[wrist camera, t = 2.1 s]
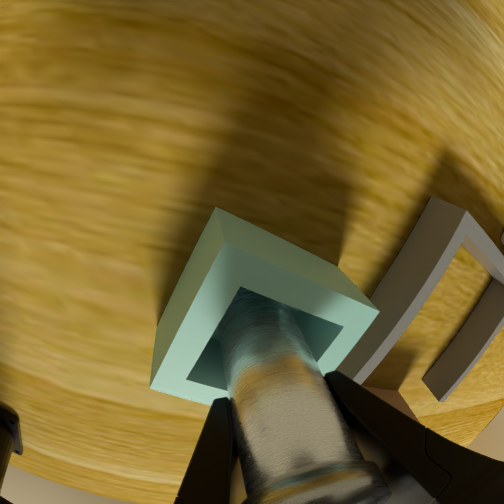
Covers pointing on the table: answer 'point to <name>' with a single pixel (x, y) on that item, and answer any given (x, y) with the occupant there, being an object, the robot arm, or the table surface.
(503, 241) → the grey slotted housing
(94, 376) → the table surface
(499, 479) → the robot arm
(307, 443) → the metal cylinder peg
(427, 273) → the grey u-shaped bracket
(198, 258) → the teal block
